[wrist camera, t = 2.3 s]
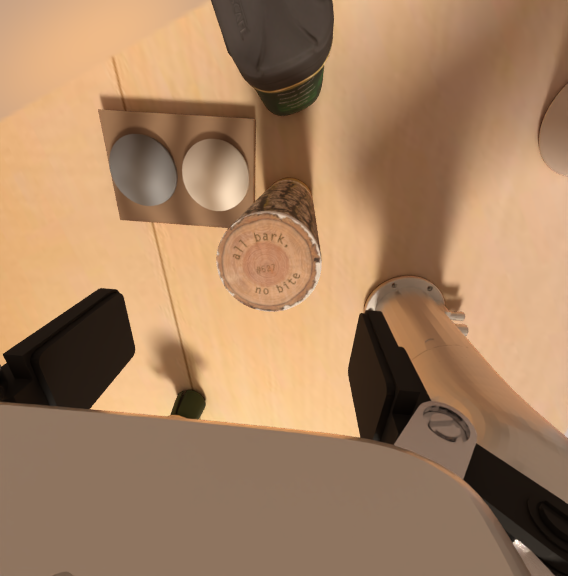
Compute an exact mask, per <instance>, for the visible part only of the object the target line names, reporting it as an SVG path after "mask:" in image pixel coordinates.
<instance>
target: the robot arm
mask: <svg viewBox="0 0 568 576" xmlns="http://www.w3.org/2000/svg"><path fill="white" fill-rule="evenodd" d="M393 283H394V284H393ZM369 308H370V309H369ZM464 319H465V314H464V313H463V312H455V311H454V312H450V311H449V310H448V309H447V308H446V307H445V301H444V298H443V295H442V294H441V292H440V290H439V289H438V288H437V287H436V286H435V285H434V284H433V283H431V282H430V281H428V280H426V279H424V278H421V277H417V276H400V277H396V278H393V279H390V280H388V281H386V282H384V283H382V284H381V285H379V286H378V287H377V288H376V289H375V290H374V291H373V292H372V293H371V294H370V296H369V297H368V299H367V301H366V304H365V308H364V313H360V315H359V319H358V324H357V329H356V333H355V338H354V343H353V348H352V352H351V357H350V362H349V367H348V376H349V382H350V387H351V392H352V397H353V402H354V407H355V412H356V417H357V422H358V427H359V432H360V438H358V437H351V436H345V435H338V434H330V433H322V432H313V431H304V430H295V429H286V428H276V427H267V426H257V425H247V424H237V423H227V422H218V421H207V420H197V419H187V418H177V417H166V416H156V415H145V414H135V413H124V412H113V411H102V410H91V409H90V408H91V407H92V405H93V404H94V403H95V402H96V401H97V399H98V398H99V397H100V396H101V395H102V393H103V392H104V391H105V390H106V389H107V387H108V386H109V385H110V384H111V383H112V381H113V380H114V379H115V378H116V376H117V375H118V374H119V373H120V372H121V370H122V369H123V368H124V367H125V366H126V364H127V363H128V362H129V361H130V360H131V358H132V357H133V356H134V353H135V345H134V340H133V336H132V332H131V327H130V323H129V319H128V314H127V310H126V305H125V301H124V297H123V295H122V294H121V293H119V291H118V290H116V289H104V288H100V289H98V290H97V291H95V292H94V293H92V294H91V295H89V296H88V297H86V298H85V299H83V300H82V301H80V302H79V303H77V304H76V305H74V306H73V307H71V308H70V309H69V310H67V311H66V312H64V313H63V314H61V315H60V316H58V317H57V318H55V319H54V320H52V321H51V322H49V323H48V324H46V325H45V326H43V327H42V328H40V329H39V330H38V331H36V332H35V333H33V334H32V335H30V336H29V337H27V338H26V339H24V340H23V341H21V342H20V343H18V344H17V345H15V346H14V347H12V348H11V349H9V350H8V351H7V352H5V353H4V354H3V356H4V358H5V360H6V362H7V363H6V364H5V365H3V366H2V367H1V365H0V576H568V438H567V437H565V435H563V434H562V433H561V432H560V431H559V430H558V429H556V428H555V427H554V426H553V425H552V424H551V423H549V422H548V421H547V420H546V419H545V418H544V417H542V416H541V415H540V414H539V413H538V412H537V411H535V410H534V409H533V408H532V407H531V406H530V405H529V404H528V403H527V402H526V401H525V400H523V399H522V398H521V397H520V396H519V395H518V394H517V393H516V392H515V391H514V390H513V389H512V388H511V387H510V386H509V385H508V384H507V383H506V382H505V381H504V380H503V378H502V377H501V376H500V375H499V374H498V373H497V372H496V371H495V370H494V369H493V368H492V367H491V365H490V364H489V363H488V362H487V361H486V360H485V358H484V357H483V356H482V355H481V354H480V353H479V352H478V351H477V349H476V348H475V347H474V346H473V345H472V344H471V342H470V341H469V340H468V339H467V338H466V337H465V336H467V334H468V327H467V325H465V324H454V323H453V322H452V320H457V321H463V320H464Z"/></svg>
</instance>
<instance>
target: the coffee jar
mask: <svg viewBox="0 0 568 576" xmlns="http://www.w3.org/2000/svg"><path fill="white" fill-rule="evenodd" d="M211 2H212V5H213V8H214V11H215V14H216V17H217V20H218V23H219V26H220V29H221V32H222V35H223V38H224V42H225V45H226V48H227V51H228V53H229V55H230V56H231V57H232V58H233V60H234V62H235V64H236V66H237V67H238V69H239V71H240V73H241V75H242V76H243V78H244V79H245V80H246V81H247V82H248V83H249V84H250V85H251V86H252V87H254V88H255V90H256V91H257V93H258V95H259V96H260V98H261V100H262V101H263V103H264V104H265V106H266V107H267V108H268V110H269V111H271V112H272V113H274V114H276V115H280V116H284V115H290V114H293V113H296V112H298V111H301V110H303V109H305V108H307V107H308V106H310V105H311V104H312V103H313V102H314V101H315V100H316V99H317V97H318V96H319V93H320V91H321V87H322V81H323V72H324V64H325V62H326V61H327V59H328V57H329V54H330V51H331V47H332V40H333V24H334V13H333V3H332V0H211Z"/></svg>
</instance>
